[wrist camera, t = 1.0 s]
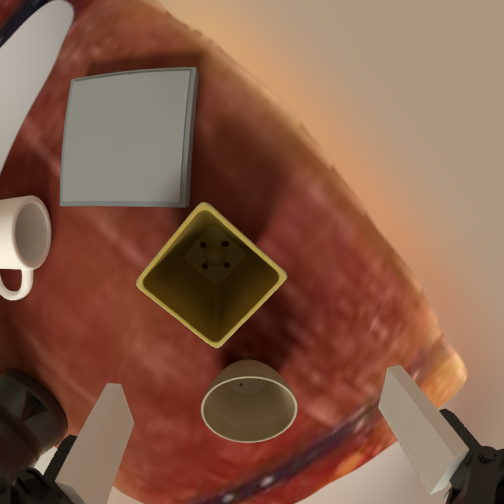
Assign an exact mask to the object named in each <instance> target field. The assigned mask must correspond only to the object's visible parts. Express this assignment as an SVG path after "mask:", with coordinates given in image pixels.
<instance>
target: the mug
mask: <svg viewBox="0 0 504 504" xmlns="http://www.w3.org/2000/svg"><path fill="white" fill-rule="evenodd" d="M50 244H51V221H50V217H49V213H48V210H47V208H46V206H45V205H44V203H43V202H42V201H41V200H40V199H39V198H38V197H35V196H23V197H17V198H10V199H3V200H0V269H21V270H22V284H21V288H20V289H19V291H9V290H8V289H7V288H6V287H5V286H4V284H3V282H2V279H1V275H0V294H1V295H2V296H3V297H4V298H6V299H8V300H18V299H21V298H23V297H25V296H26V295H27V294H28V293H29V291H30V290H31V287H32V284H33V269H36V268H38V267H39V266H41V265H42V263H43V262H44V261H45V259H46V257H47V255H48V252H49V249H50Z"/></svg>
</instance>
